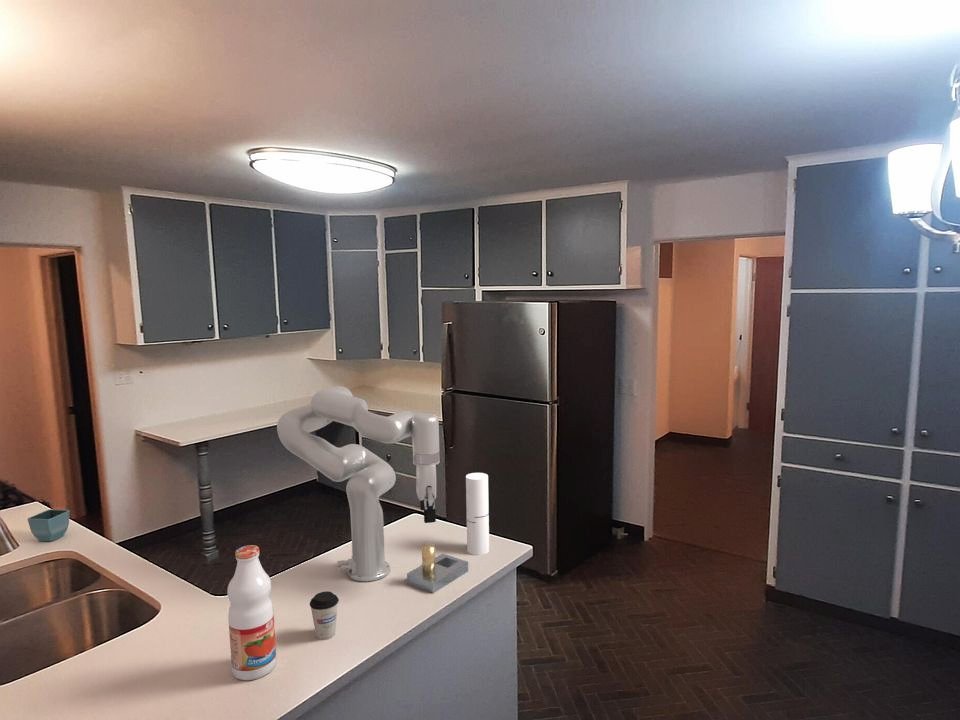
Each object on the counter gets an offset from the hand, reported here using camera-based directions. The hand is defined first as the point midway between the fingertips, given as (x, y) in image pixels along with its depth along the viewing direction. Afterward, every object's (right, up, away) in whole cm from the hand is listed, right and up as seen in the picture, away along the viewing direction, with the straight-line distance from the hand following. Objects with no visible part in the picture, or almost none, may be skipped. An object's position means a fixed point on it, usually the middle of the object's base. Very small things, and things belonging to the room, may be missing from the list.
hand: (427, 515), depth 168 cm
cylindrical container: (+14, -18, +23) cm, 32 cm away
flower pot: (-136, -18, +38) cm, 142 cm away
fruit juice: (-36, -25, -36) cm, 57 cm away
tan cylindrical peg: (0, -17, +2) cm, 17 cm away
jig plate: (+3, -20, +5) cm, 20 cm away
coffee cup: (-23, -23, -23) cm, 40 cm away
